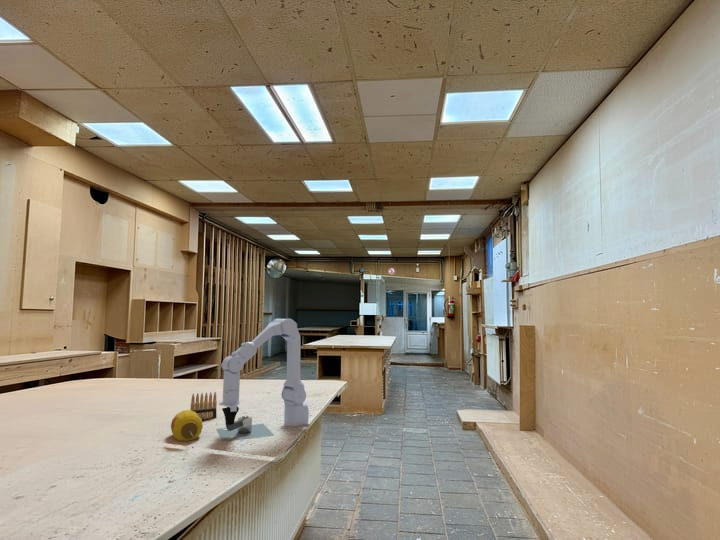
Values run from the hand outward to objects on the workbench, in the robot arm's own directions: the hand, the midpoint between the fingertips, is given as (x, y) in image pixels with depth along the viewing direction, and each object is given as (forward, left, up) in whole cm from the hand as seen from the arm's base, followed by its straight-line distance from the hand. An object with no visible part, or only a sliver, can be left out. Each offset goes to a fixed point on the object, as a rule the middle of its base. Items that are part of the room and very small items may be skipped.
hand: (229, 428), depth 146 cm
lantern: (+14, -6, -4) cm, 16 cm away
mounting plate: (-6, -3, -4) cm, 8 cm away
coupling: (-3, 0, -3) cm, 4 cm away
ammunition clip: (+6, -31, -4) cm, 32 cm away
